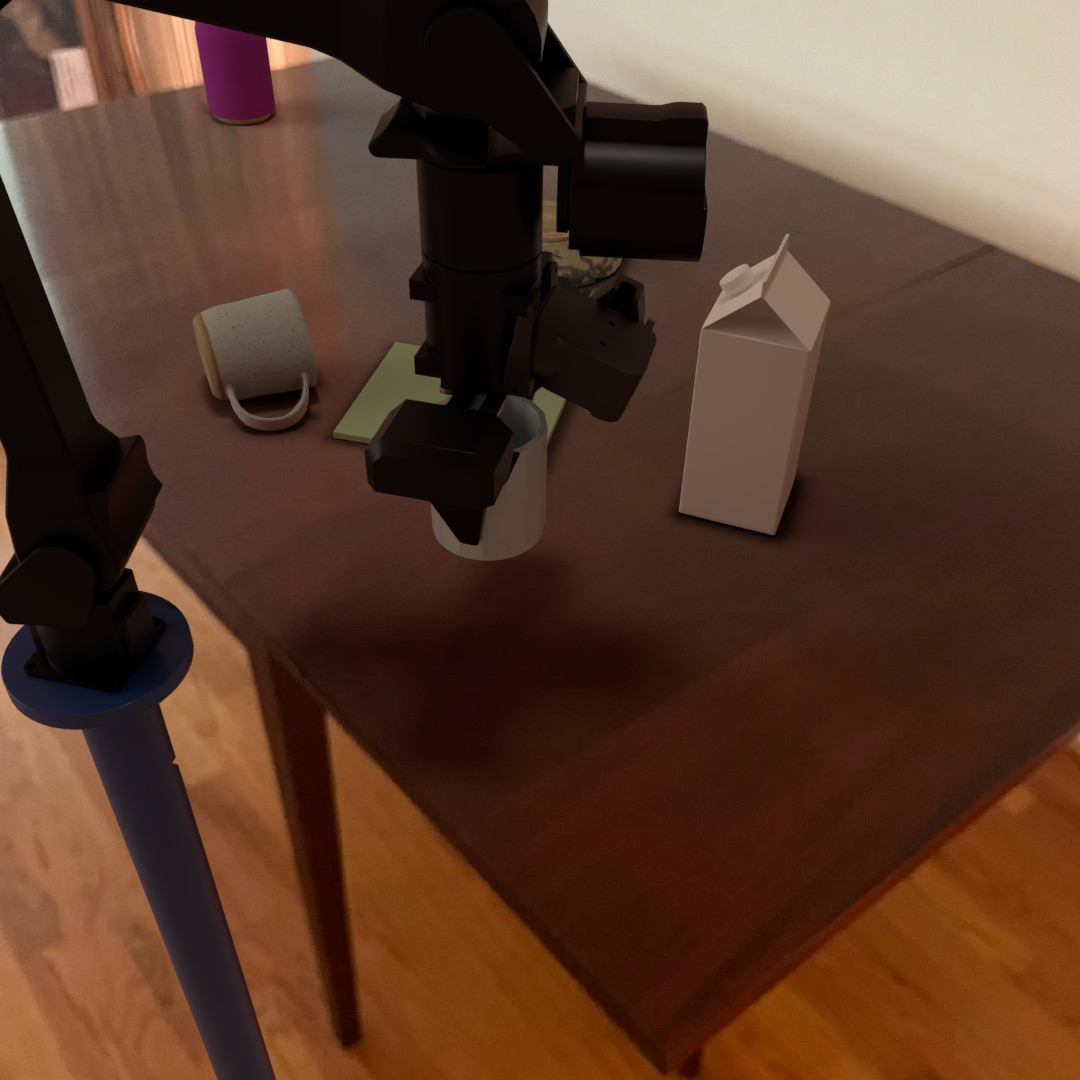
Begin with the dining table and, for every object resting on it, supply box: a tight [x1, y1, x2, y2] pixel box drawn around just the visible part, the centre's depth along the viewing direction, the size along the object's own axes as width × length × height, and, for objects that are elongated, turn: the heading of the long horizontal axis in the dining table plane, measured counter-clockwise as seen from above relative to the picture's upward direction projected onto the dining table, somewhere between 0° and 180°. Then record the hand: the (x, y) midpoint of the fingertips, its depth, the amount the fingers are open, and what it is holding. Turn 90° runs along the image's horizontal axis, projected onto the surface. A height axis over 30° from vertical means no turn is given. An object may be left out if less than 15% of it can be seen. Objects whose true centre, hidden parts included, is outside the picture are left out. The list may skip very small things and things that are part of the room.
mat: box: [332, 341, 568, 447], centre depth 91 cm, size 16×14×1 cm
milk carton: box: [678, 233, 831, 536], centre depth 78 cm, size 7×7×19 cm
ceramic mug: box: [192, 288, 318, 432], centre depth 88 cm, size 11×8×8 cm
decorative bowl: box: [542, 200, 623, 288], centre depth 111 cm, size 15×4×15 cm
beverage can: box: [194, 21, 276, 126], centre depth 131 cm, size 8×8×12 cm
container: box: [429, 395, 548, 562], centre depth 63 cm, size 6×6×7 cm
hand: (487, 506), depth 64 cm, fingers closed on container, 6 cm apart
